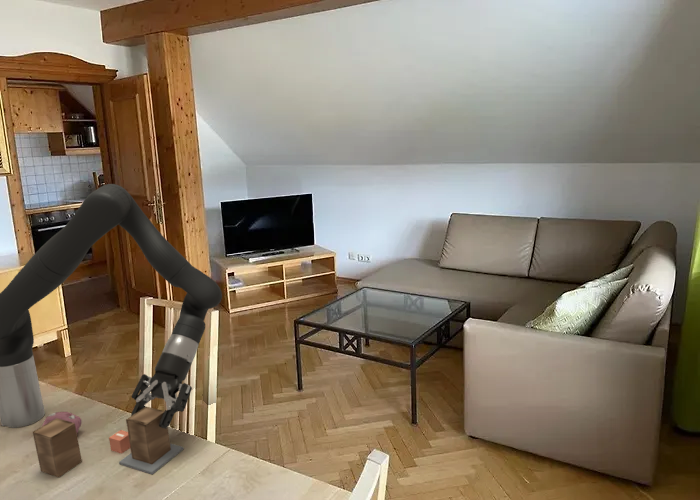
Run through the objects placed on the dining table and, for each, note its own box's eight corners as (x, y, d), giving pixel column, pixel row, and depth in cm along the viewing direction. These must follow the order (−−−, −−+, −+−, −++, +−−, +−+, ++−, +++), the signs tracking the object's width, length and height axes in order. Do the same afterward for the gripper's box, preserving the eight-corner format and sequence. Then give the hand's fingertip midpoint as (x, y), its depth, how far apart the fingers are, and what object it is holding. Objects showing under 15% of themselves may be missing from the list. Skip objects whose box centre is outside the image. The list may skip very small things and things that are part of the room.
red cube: (111, 450, 131) (108, 437, 130) (122, 442, 134) (120, 429, 133) (121, 454, 129) (119, 440, 128) (133, 445, 132) (131, 432, 131)
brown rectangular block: (132, 458, 126) (125, 419, 124) (151, 444, 131) (145, 406, 129) (152, 464, 124) (145, 424, 121) (170, 449, 129) (165, 411, 126)
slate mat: (119, 464, 125) (118, 461, 125) (151, 440, 134) (151, 438, 134) (152, 474, 121) (152, 472, 121) (183, 449, 130) (183, 447, 130)
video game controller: (81, 442, 137) (86, 413, 139) (68, 444, 133) (73, 414, 134) (48, 438, 140) (53, 409, 141) (34, 440, 136) (39, 410, 137)
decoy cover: (40, 471, 124) (32, 431, 122) (64, 456, 129) (56, 418, 127) (59, 477, 122) (50, 437, 119) (82, 461, 127) (74, 423, 124)
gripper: (145, 347, 133) (114, 413, 126) (191, 355, 127) (162, 426, 120) (164, 358, 139) (135, 422, 132) (209, 367, 133) (181, 434, 126)
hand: (148, 423), depth 126 cm, fingers open, 8 cm apart
